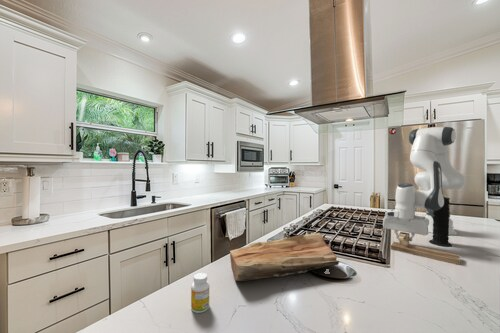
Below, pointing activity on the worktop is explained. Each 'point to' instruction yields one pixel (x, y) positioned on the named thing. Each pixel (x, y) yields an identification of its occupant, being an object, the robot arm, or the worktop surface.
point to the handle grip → (441, 225)
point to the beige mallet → (403, 238)
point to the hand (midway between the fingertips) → (404, 239)
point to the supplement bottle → (200, 293)
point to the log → (281, 257)
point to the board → (426, 252)
